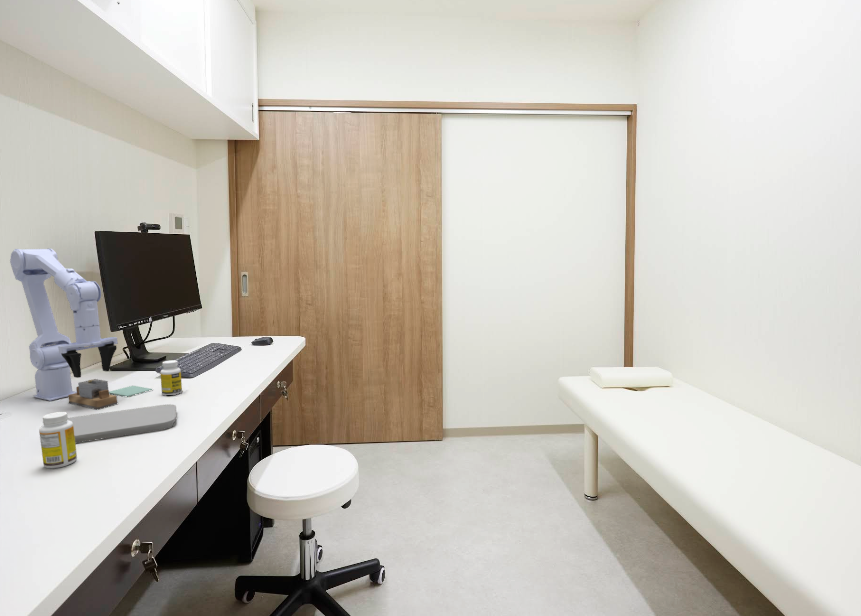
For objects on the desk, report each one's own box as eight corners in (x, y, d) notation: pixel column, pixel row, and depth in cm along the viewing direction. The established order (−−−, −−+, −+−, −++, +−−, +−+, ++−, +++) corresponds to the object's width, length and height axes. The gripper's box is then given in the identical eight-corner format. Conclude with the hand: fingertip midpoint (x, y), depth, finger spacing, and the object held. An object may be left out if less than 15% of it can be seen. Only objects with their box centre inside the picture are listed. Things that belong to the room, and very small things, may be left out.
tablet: (59, 427, 126) (58, 418, 126) (176, 411, 137) (176, 403, 137) (43, 450, 112) (42, 440, 111) (176, 430, 123) (175, 420, 123)
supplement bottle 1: (72, 455, 107) (67, 408, 106) (81, 462, 104) (75, 413, 103) (40, 464, 103) (34, 415, 102) (47, 472, 100) (41, 421, 98)
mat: (107, 393, 155) (107, 392, 155) (132, 386, 162) (132, 385, 162) (127, 397, 150) (127, 395, 150) (153, 390, 157) (153, 388, 157)
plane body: (68, 403, 145) (67, 388, 145) (88, 398, 150) (87, 383, 150) (97, 409, 139) (95, 393, 138) (117, 404, 144) (116, 388, 143)
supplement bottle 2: (174, 396, 150) (171, 363, 149) (157, 395, 151) (155, 363, 150) (186, 391, 155) (183, 359, 154) (170, 390, 156) (168, 359, 155)
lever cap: (79, 396, 143) (78, 380, 142) (96, 392, 147) (94, 376, 146) (92, 399, 140) (90, 382, 140) (108, 394, 144) (107, 378, 144)
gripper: (66, 330, 133) (72, 381, 135) (122, 322, 146) (126, 369, 147) (51, 329, 136) (57, 379, 138) (107, 321, 149) (111, 367, 151)
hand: (92, 373), depth 143 cm, fingers open, 7 cm apart
